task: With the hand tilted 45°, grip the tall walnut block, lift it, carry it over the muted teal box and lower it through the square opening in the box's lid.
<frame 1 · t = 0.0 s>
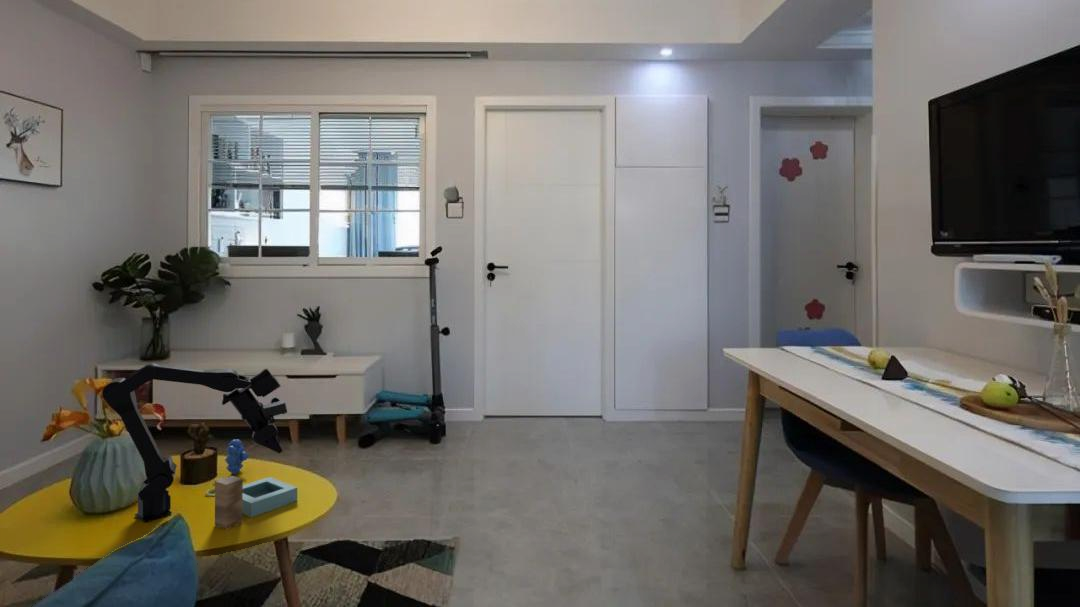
hand: (280, 447, 165), 15 cm above the table, tool tilted 35°, fingers open, 9 cm apart
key: (220, 491, 170), on the table
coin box: (260, 502, 161), on the table
grapes: (238, 474, 182), on the table
walnut block: (228, 524, 147), on the table
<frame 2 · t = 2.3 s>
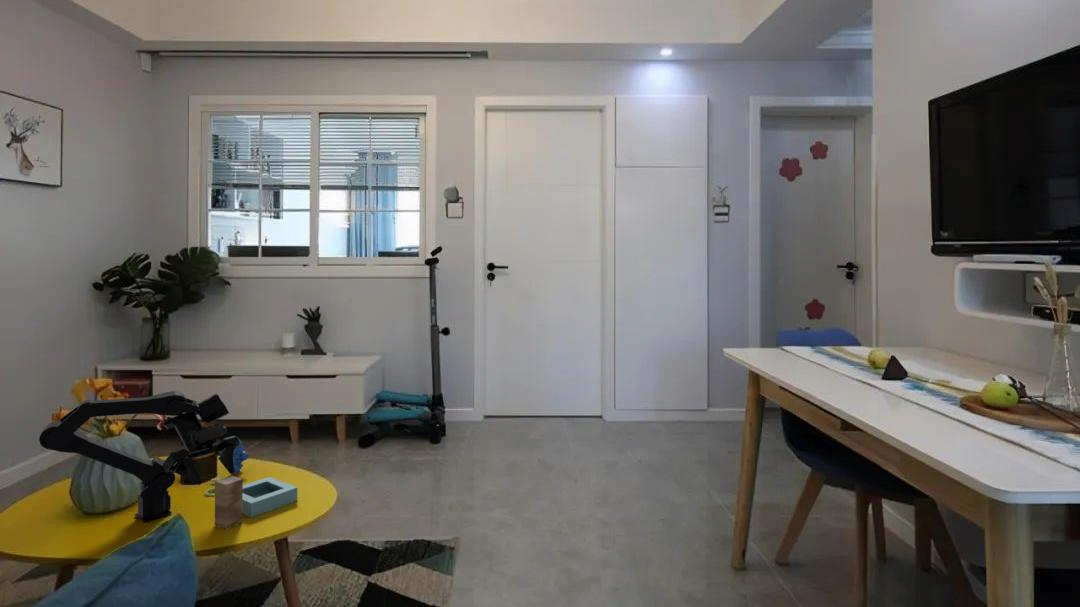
hand: (217, 478, 149), 11 cm above the table, tool tilted 45°, fingers open, 9 cm apart
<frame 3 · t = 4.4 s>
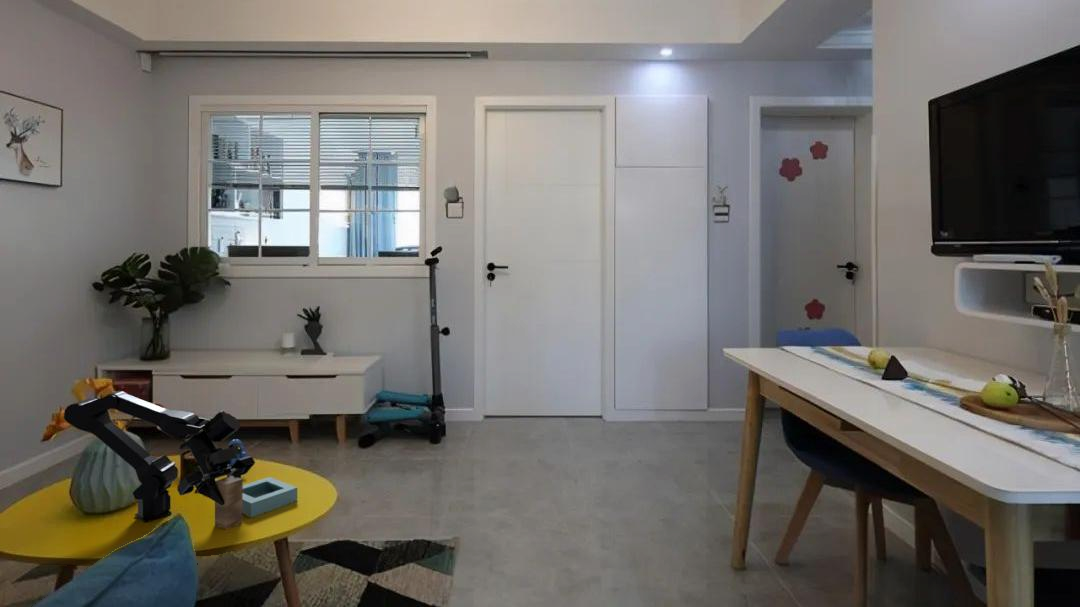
hand: (232, 501, 146), 7 cm above the table, tool tilted 45°, fingers closed on walnut block, 5 cm apart
walnut block: (228, 524, 147), on the table, touching gripper
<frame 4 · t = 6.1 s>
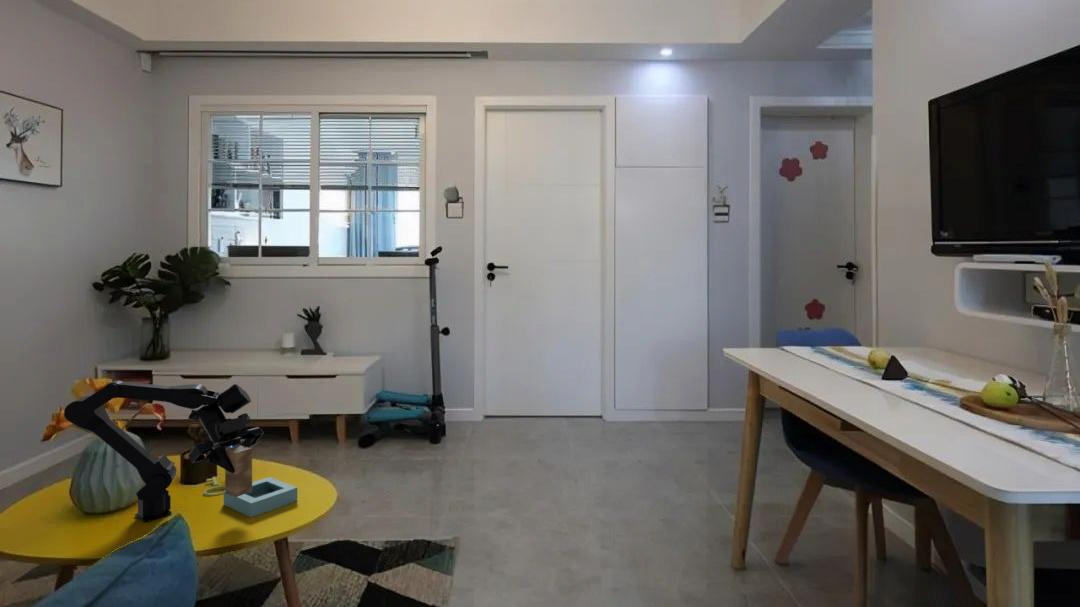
hand: (242, 469, 150), 14 cm above the table, tool tilted 45°, fingers closed on walnut block, 5 cm apart
walnut block: (238, 492, 151), point 7 cm above the table, touching gripper
when the fingers open (9 cm above the table, at t = 8.0 s): walnut block drops 2 cm, resting on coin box.
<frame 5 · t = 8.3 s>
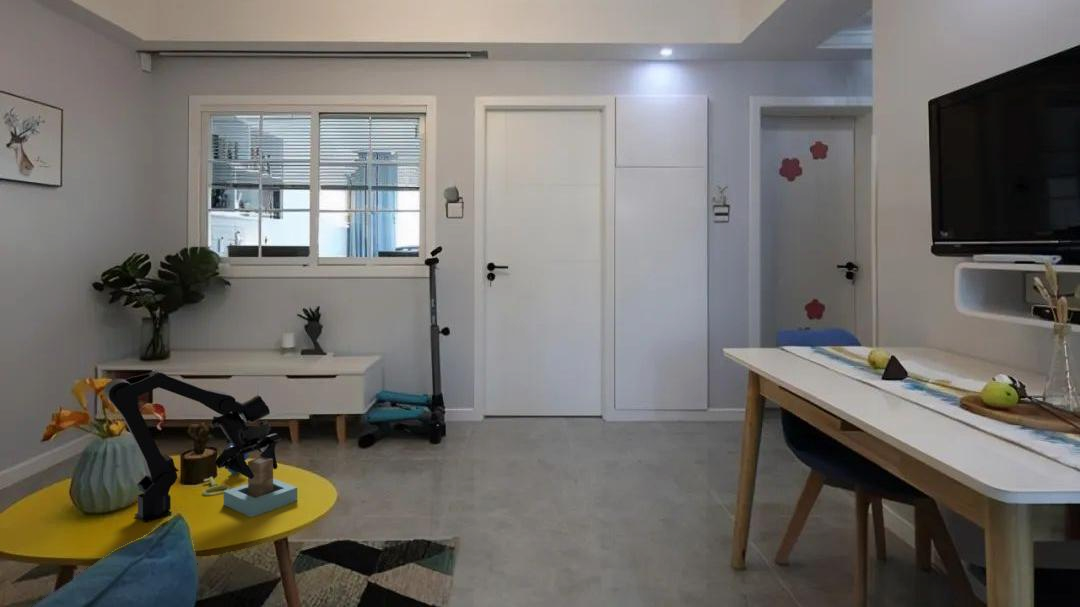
hand: (264, 473, 160), 9 cm above the table, tool tilted 45°, fingers open, 8 cm apart
walnut block: (261, 500, 161), point 1 cm above the table, touching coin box
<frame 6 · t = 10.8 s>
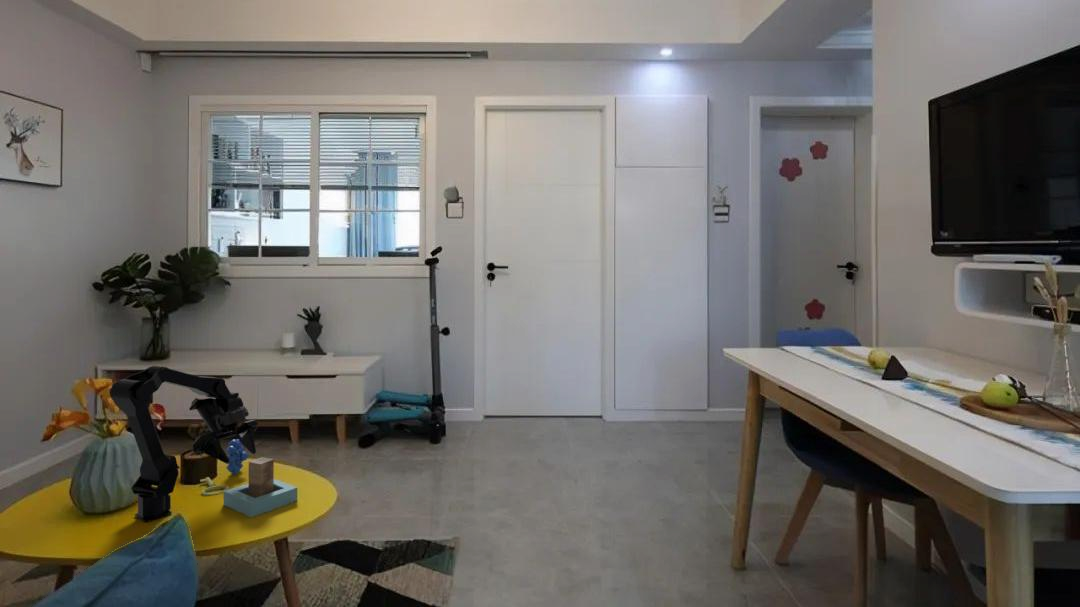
hand: (241, 457, 163), 12 cm above the table, tool tilted 45°, fingers open, 9 cm apart
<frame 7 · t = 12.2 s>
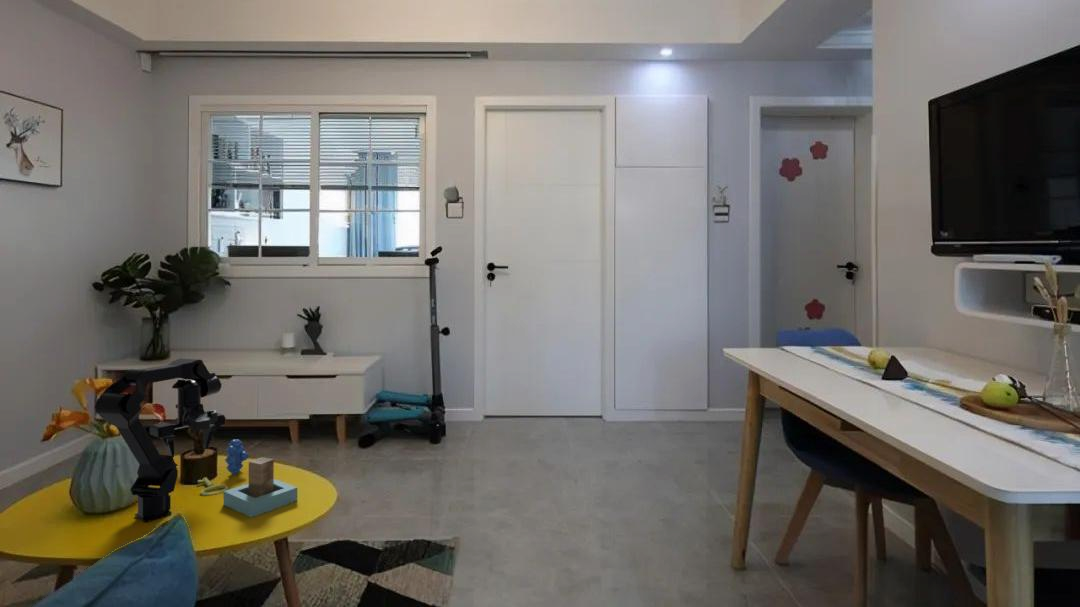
hand: (189, 453, 163), 13 cm above the table, tool pointing down, fingers open, 9 cm apart
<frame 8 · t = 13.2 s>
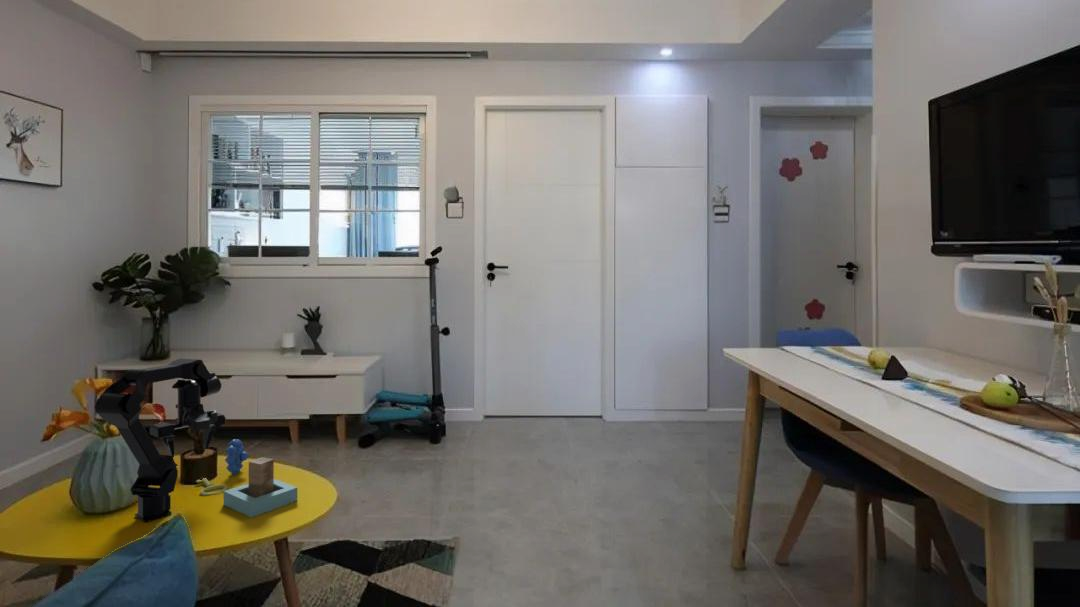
hand: (189, 453, 163), 13 cm above the table, tool pointing down, fingers open, 9 cm apart
at the end: walnut block inside the target area on the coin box (0.1 cm from its centre), point 0.6 cm above the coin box's base; the gripper is holding nothing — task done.
